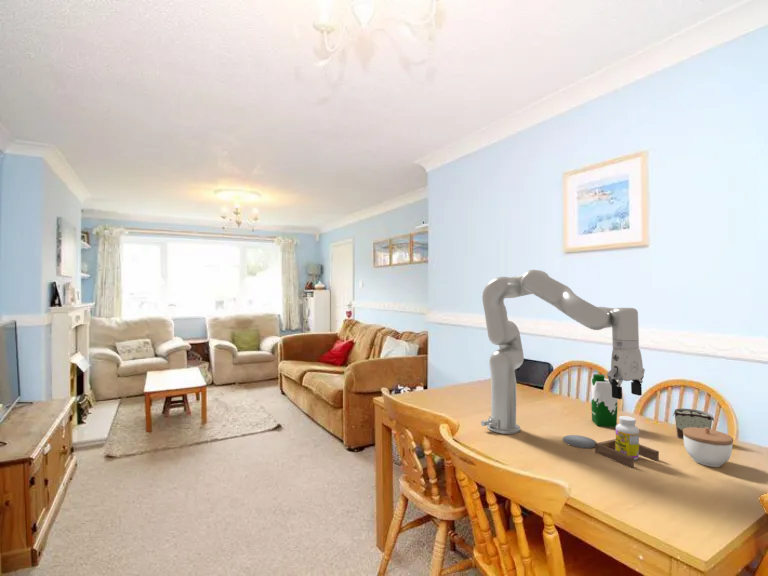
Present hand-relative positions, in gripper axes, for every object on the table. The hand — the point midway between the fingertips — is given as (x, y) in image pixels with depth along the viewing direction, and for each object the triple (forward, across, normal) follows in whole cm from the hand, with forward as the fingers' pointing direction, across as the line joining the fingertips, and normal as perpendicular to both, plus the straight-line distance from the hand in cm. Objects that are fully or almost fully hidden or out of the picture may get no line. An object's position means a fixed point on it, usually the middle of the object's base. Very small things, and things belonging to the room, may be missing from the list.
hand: (626, 396), depth 133 cm
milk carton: (+20, +22, +25) cm, 39 cm away
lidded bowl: (+21, +20, -13) cm, 31 cm away
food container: (+21, +39, +2) cm, 44 cm away
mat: (+20, -4, +15) cm, 25 cm away
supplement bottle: (+20, 0, 0) cm, 20 cm away
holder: (+20, 0, 0) cm, 20 cm away
